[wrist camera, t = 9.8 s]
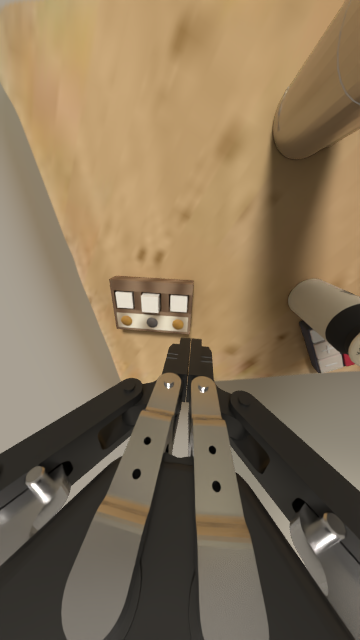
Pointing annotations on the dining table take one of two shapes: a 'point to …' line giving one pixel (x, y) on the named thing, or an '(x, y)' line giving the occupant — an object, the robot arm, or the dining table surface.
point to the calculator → (322, 351)
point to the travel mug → (329, 314)
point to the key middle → (150, 302)
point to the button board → (165, 317)
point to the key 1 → (125, 299)
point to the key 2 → (178, 303)
